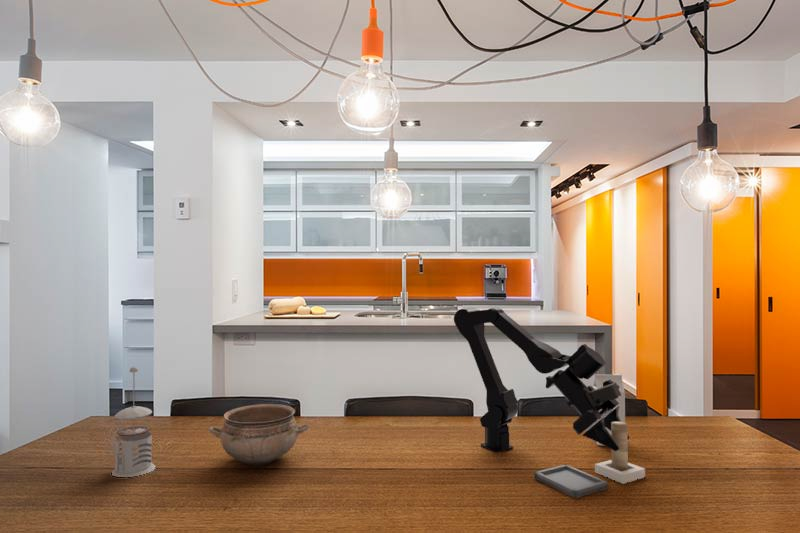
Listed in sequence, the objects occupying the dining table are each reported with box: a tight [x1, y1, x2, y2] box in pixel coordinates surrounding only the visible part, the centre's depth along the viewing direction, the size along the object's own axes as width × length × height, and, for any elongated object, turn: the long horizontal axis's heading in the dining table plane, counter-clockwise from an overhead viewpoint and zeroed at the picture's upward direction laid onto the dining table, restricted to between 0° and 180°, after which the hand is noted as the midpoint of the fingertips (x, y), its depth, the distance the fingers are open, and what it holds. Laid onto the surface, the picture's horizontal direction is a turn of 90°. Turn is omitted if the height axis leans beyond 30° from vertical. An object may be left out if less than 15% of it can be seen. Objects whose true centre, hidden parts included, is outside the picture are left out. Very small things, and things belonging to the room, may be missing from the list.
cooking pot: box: [208, 403, 311, 467], centre depth 131 cm, size 25×19×12 cm
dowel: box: [610, 422, 629, 472], centre depth 121 cm, size 4×4×12 cm
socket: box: [594, 459, 646, 485], centre depth 121 cm, size 8×8×2 cm
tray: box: [534, 463, 609, 499], centre depth 116 cm, size 12×10×2 cm
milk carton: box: [592, 373, 626, 447], centre depth 144 cm, size 7×7×19 cm
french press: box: [106, 366, 157, 478], centre depth 124 cm, size 10×12×25 cm
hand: (623, 444), depth 121 cm, fingers open, 9 cm apart
